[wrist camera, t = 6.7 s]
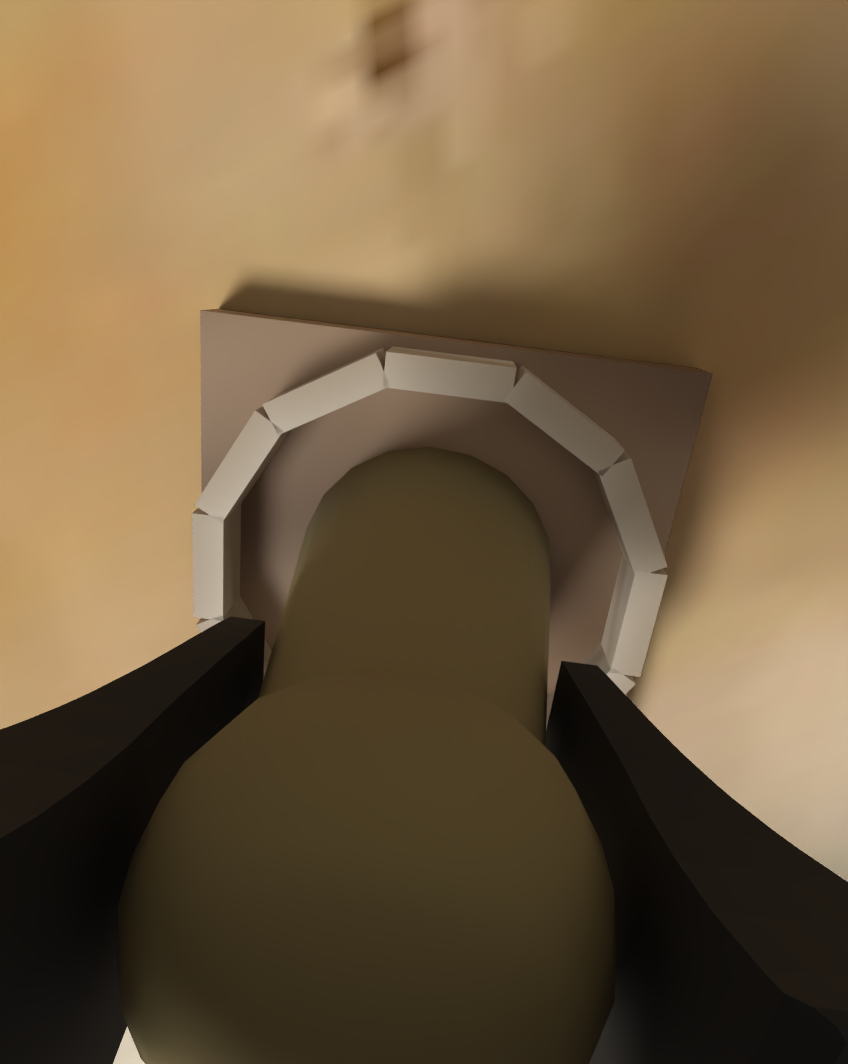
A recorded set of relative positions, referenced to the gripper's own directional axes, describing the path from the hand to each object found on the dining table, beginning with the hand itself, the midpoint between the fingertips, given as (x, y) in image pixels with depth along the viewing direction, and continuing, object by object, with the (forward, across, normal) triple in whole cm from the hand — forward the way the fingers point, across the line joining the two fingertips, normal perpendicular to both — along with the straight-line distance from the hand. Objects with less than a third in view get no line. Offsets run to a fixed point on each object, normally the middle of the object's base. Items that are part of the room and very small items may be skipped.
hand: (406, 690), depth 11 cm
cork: (+5, 0, 0) cm, 5 cm away
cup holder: (+6, 0, 0) cm, 6 cm away
